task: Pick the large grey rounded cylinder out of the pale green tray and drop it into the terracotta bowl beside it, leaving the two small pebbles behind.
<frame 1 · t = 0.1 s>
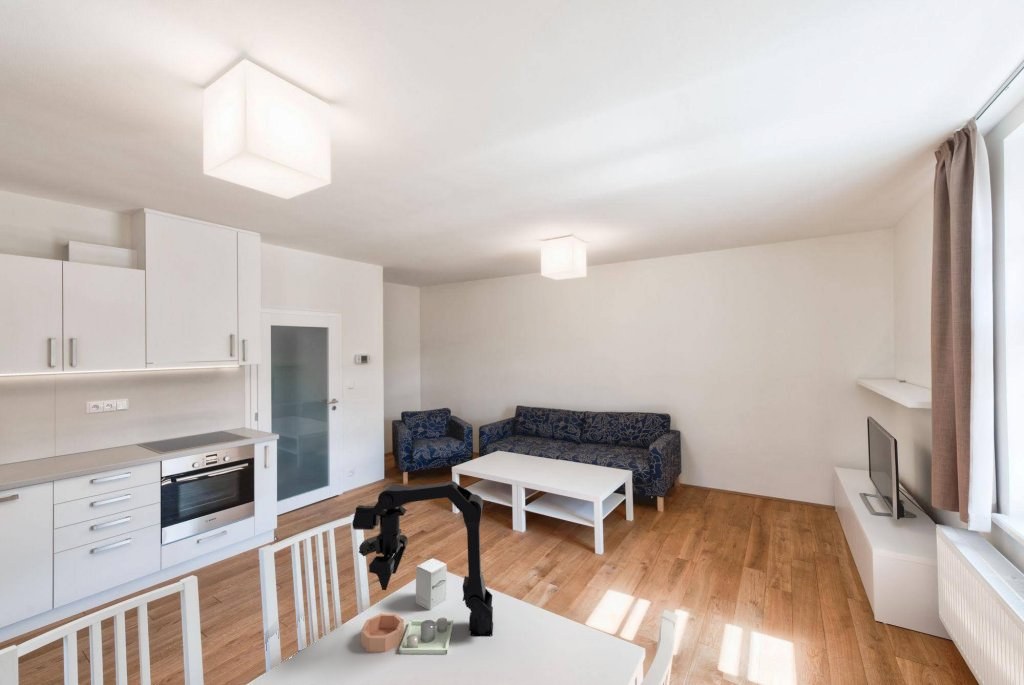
hand: (389, 581, 128), 15 cm above the table, fingers open, 9 cm apart
tray: (427, 639, 124), on the table
supplement box: (431, 603, 142), on the table
pebble b: (412, 647, 120), resting on tray
pebble c: (441, 629, 128), resting on tray
bowl: (382, 640, 124), on the table
grey rounded cylinder: (427, 638, 124), resting on tray
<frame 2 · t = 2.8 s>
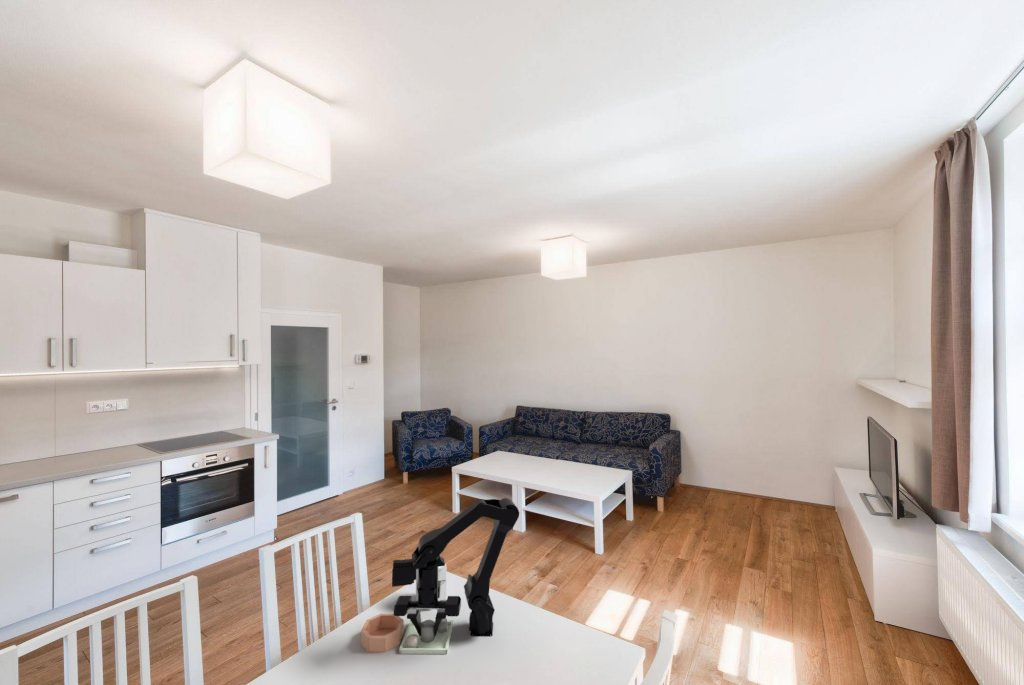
hand: (427, 635, 124), 1 cm above the table, fingers closed on grey rounded cylinder, 4 cm apart
grey rounded cylinder: (427, 638, 124), point 1 cm above the table, touching gripper, tray
everything else where it was.
when the fingers open (3 cm above the table, at t = 6.4 s): grey rounded cylinder drops 2 cm, resting on bowl.
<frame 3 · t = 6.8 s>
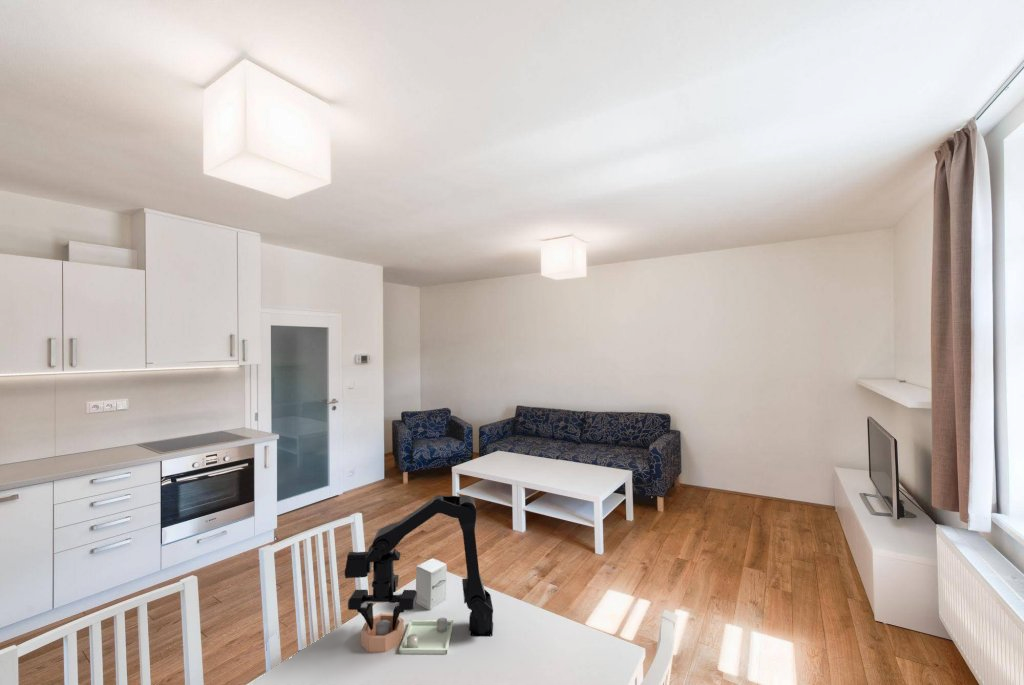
hand: (382, 629, 124), 3 cm above the table, fingers open, 6 cm apart
grey rounded cylinder: (382, 638, 124), point 1 cm above the table, touching bowl
everything else where it was.
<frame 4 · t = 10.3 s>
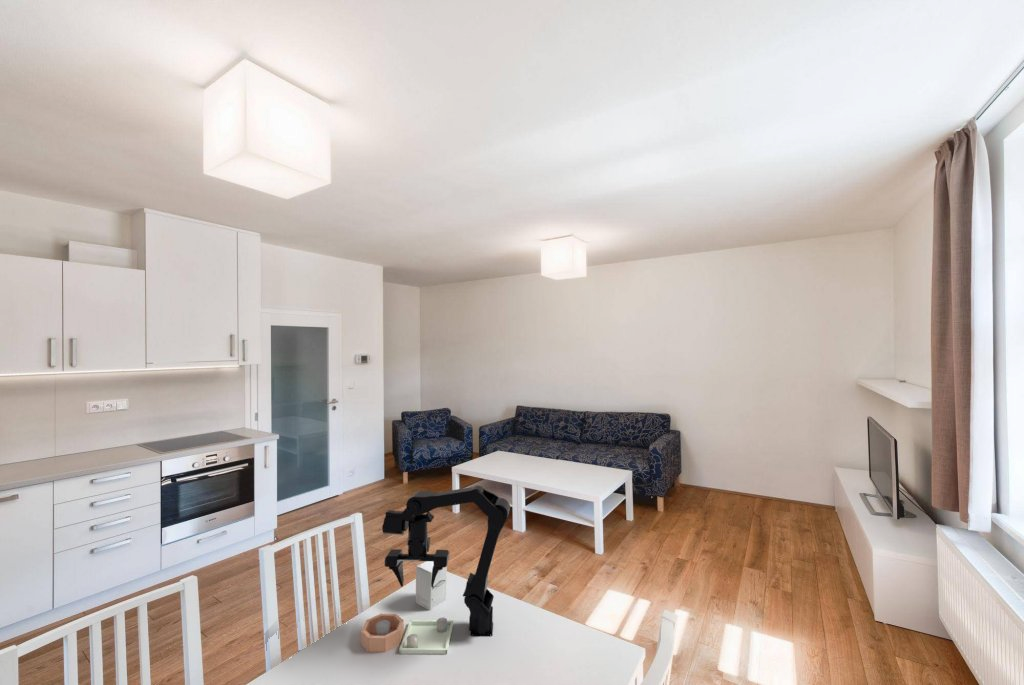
hand: (417, 586, 130), 12 cm above the table, fingers open, 9 cm apart
nothing on the table moved.
at the end: grey rounded cylinder inside the target area on the bowl (0.0 cm from its centre), point 0.6 cm above the bowl's base; the gripper is holding nothing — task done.
